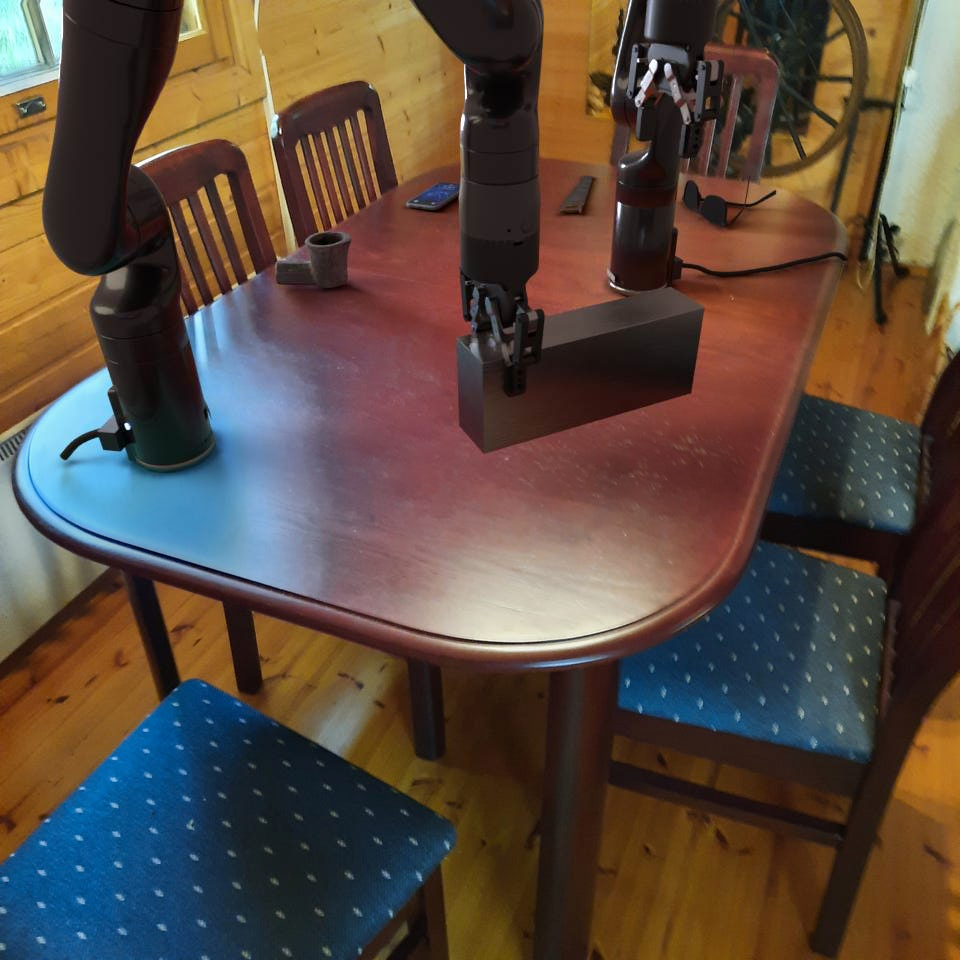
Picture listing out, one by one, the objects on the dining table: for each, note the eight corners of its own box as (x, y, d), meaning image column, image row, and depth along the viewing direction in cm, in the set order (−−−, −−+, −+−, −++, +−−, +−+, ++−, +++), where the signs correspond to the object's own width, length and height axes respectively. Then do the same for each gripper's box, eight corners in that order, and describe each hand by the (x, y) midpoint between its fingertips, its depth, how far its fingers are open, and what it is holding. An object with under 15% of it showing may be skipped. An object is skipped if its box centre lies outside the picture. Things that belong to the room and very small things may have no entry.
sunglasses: (787, 221, 160) (792, 194, 157) (718, 230, 157) (722, 203, 154) (740, 193, 173) (744, 168, 170) (675, 201, 170) (678, 176, 167)
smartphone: (403, 203, 170) (439, 180, 181) (404, 207, 171) (440, 185, 181) (436, 207, 167) (471, 184, 178) (436, 212, 168) (471, 189, 179)
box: (660, 370, 104) (670, 286, 97) (691, 393, 99) (705, 307, 93) (458, 425, 94) (455, 337, 88) (483, 454, 90) (482, 363, 83)
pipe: (280, 280, 143) (272, 233, 138) (357, 276, 144) (351, 229, 139) (276, 295, 138) (268, 248, 133) (355, 291, 139) (350, 243, 134)
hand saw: (572, 176, 184) (572, 173, 184) (593, 177, 184) (593, 174, 183) (557, 214, 165) (557, 210, 165) (581, 215, 165) (581, 211, 164)
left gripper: (431, 205, 83) (439, 358, 93) (498, 256, 73) (499, 421, 83) (500, 193, 86) (500, 343, 96) (574, 240, 76) (565, 402, 86)
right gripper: (755, -4, 88) (730, 159, 97) (672, -17, 98) (656, 131, 107) (696, 1, 85) (675, 168, 94) (617, -13, 95) (605, 138, 105)
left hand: (499, 379), depth 89 cm, fingers closed on box, 6 cm apart
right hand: (665, 148), depth 101 cm, fingers open, 8 cm apart
